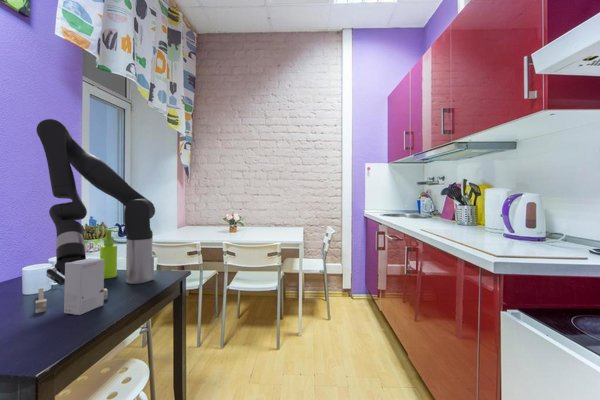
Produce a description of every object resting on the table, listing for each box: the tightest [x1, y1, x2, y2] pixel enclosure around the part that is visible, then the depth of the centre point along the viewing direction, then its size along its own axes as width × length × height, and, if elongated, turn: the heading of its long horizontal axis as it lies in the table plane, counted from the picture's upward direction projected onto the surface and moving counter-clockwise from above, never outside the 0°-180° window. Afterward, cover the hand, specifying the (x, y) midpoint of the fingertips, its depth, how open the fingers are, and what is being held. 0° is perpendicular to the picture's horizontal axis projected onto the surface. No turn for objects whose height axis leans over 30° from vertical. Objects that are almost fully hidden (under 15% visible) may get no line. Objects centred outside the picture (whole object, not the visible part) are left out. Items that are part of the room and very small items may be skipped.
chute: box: [35, 288, 109, 314], centre depth 95 cm, size 18×18×3 cm
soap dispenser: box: [99, 228, 120, 280], centre depth 120 cm, size 6×7×20 cm
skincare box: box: [63, 258, 105, 316], centre depth 86 cm, size 8×6×15 cm
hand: (73, 294), depth 86 cm, fingers closed
